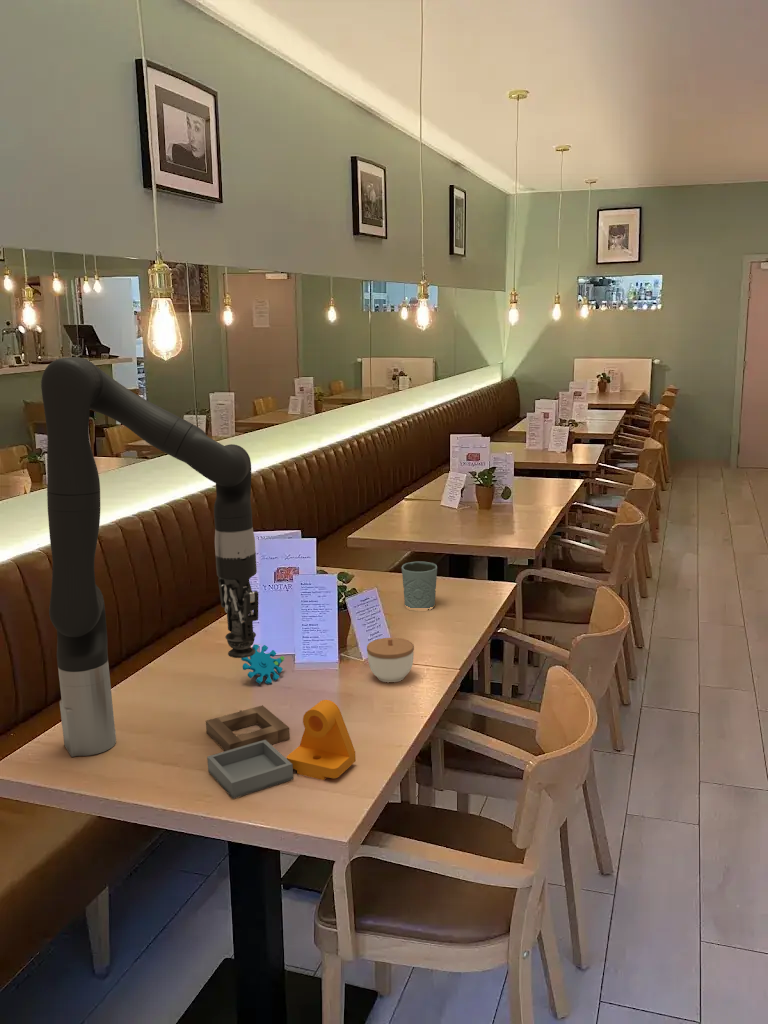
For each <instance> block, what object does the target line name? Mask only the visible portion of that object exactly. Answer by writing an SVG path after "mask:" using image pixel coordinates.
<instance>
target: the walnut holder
mask: <svg viewBox="0 0 768 1024" xmlns="http://www.w3.org/2000/svg"><path fill="white" fill-rule="evenodd" d="M251 725H252V726H254V725H258V726H259V727H260V728H261V729H256V730H254V731H250V732H246V733H242V734H240V735H239V734H238V735H236V734H235V733H234V731H237V730H240V728H241V729H245V728H248V727H251ZM244 727H245V728H244ZM233 730H234V731H233ZM205 731H206V734H207V735H208V736H210V738H211V739H212V740H213V741H214V742H215V743H216V742H217V743H218V744H219V745H220V746H221V747H222V748H223V749H224V750H223V749H222V748H221V747H220V746H219V745H218V744H217V743H216V744H217V745H218V746H219V747H220V748H221V749H222V750H223V752H224V751H228V750H231V749H235V748H238V747H241V746H245V745H248V744H252V743H255V742H259V741H262V740H266V741H267V742H269V743H270V744H271V745H272V746H273V745H275V744H277V743H280V742H285V741H288V740H290V739H291V736H290V734H291V733H290V727H289V725H287V724H286V723H284V722H283V721H282V720H281V719H280V718H279V717H277V716H276V715H275V714H274V713H273V712H271V711H270V710H269V709H268V708H267V707H266V706H264V705H263V704H262V705H259V706H255V707H251V708H248V709H244V710H240V711H237V712H233V713H229V714H225V715H223V716H222V715H221V716H218V717H215V718H210V719H207V720H205Z"/></svg>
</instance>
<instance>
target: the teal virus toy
mask: <svg viewBox="0 0 768 1024" xmlns="http://www.w3.org/2000/svg"><path fill="white" fill-rule="evenodd" d="M251 648H253V649H254V650H255V654H254V655H252V656H249V657H245V658H240V660H241V661H243V662H245V663H243V664H242V666H241V667H242V670H243V671H247V670H251V671H249V672H248V673H247V676H248V678H249V679H252V678H253V677H255V676H257V675H259V676H258V677H257V678H256V679H255V682H256V683H258V684H259V685H261V683H262V682H263V681H264V677H266V680H265V681H264V682H265V684H267V685H271V684H270V683H273V681H277V680H279V678H280V674H281V673H282V671H283V667H281V664H282V663H283V662H284V661H285V656H283V655H282V656H280V657H278V658H273V657H275V656H276V654H277V652H276V651H275V650H274V649H272V650H271V651H270V652H268V653H266V651H268V649H269V647H268V646H267V645H266V644H263V645H262V646H261V651H258V649H259V648H260V645H259V644H254V643H253V645H252V646H251ZM271 674H272V677H271Z"/></svg>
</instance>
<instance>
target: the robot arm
mask: <svg viewBox="0 0 768 1024" xmlns="http://www.w3.org/2000/svg"><path fill="white" fill-rule="evenodd" d="M40 383H41V384H40V385H41V386H40V388H41V394H42V395H41V396H42V402H43V403H42V404H43V410H44V419H45V424H46V434H47V435H46V436H47V446H46V447H47V449H46V451H47V453H46V455H47V457H46V462H47V463H46V465H47V466H46V467H47V469H46V471H47V473H46V474H47V479H46V480H47V483H46V484H47V485H46V491H47V493H46V497H47V499H46V501H47V520H48V530H49V542H50V543H49V544H50V552H51V559H52V573H51V574H52V575H51V588H50V589H51V590H50V600H49V608H48V615H49V618H50V622H51V623H52V625H53V627H54V628H55V630H56V635H57V637H56V642H57V643H56V662H57V669H58V679H59V681H58V682H59V688H60V697H61V699H60V700H59V709H60V711H59V712H60V718H61V728H62V735H63V737H62V738H63V744H64V745H63V746H64V747H65V749H66V750H67V752H68V754H69V755H70V757H71V758H73V757H79V756H81V757H85V756H93V755H98V754H102V753H104V752H107V751H108V750H110V749H112V748H113V747H114V746H115V745H116V743H117V733H116V732H117V731H116V727H115V726H116V724H115V716H114V706H113V705H114V704H113V696H112V687H111V677H110V676H111V675H110V666H109V665H110V664H109V656H108V655H109V654H108V630H107V629H108V628H107V619H106V607H105V606H106V605H105V599H104V595H103V593H102V590H101V589H100V587H98V585H97V584H96V578H95V577H96V576H95V575H96V574H95V558H96V551H97V547H98V546H97V544H98V539H99V538H98V537H99V531H100V523H101V483H100V475H99V471H98V467H97V464H96V460H95V457H94V453H93V451H92V447H91V441H90V411H93V412H97V413H99V414H102V415H104V416H106V417H108V418H110V419H112V420H115V421H116V422H118V423H119V424H121V425H123V426H124V427H126V428H127V429H129V430H130V431H131V432H133V433H134V434H135V435H136V436H137V437H139V438H140V439H142V440H143V441H145V442H146V443H148V444H149V445H151V446H152V447H154V448H155V449H157V450H159V451H161V452H163V453H165V454H167V455H169V456H171V457H172V458H174V459H176V460H179V461H180V462H183V463H185V464H187V465H188V466H189V467H190V468H191V469H193V470H194V471H196V472H197V473H198V474H200V475H201V476H203V477H204V478H205V479H207V480H209V481H210V482H212V483H214V484H215V490H216V491H215V493H216V494H215V495H216V496H215V500H214V505H213V516H214V517H213V519H214V550H215V552H214V554H215V555H214V556H215V569H216V570H215V571H216V576H217V578H218V579H217V581H218V588H219V598H220V605H221V608H224V612H225V613H226V619H227V620H226V621H227V622H226V623H227V630H228V632H229V633H230V632H231V631H232V619H230V617H231V616H232V607H231V603H232V601H233V602H234V607H235V611H237V612H238V613H239V617H240V621H241V623H240V626H241V639H242V640H243V641H244V642H246V641H250V640H253V632H254V626H253V624H254V622H255V621H258V620H259V591H258V590H254V591H253V590H252V586H251V583H250V579H251V578H252V577H254V576H255V575H256V574H257V573H258V572H257V554H256V552H257V551H256V539H255V532H254V527H253V526H254V525H253V510H252V503H251V495H252V493H251V492H252V462H251V457H250V455H249V453H248V452H247V450H246V449H245V448H243V447H242V446H240V445H237V444H226V445H223V444H221V443H220V442H218V441H216V440H215V439H213V438H211V437H209V436H208V435H207V433H206V432H205V431H204V430H203V429H202V428H200V427H198V426H197V425H195V424H193V423H192V422H190V421H188V420H185V419H184V418H182V417H180V416H178V415H176V414H175V413H173V412H170V411H168V410H166V409H164V408H162V407H160V406H159V405H156V404H155V403H153V402H151V401H149V400H147V399H145V398H143V397H141V396H140V395H139V394H137V393H134V392H133V391H131V390H130V389H128V387H126V386H124V385H123V384H121V383H119V381H117V380H115V379H114V378H113V377H111V376H110V375H109V374H108V373H106V372H105V371H103V370H102V369H101V368H99V367H98V366H97V365H95V364H94V363H93V362H91V361H90V360H88V359H87V358H84V357H79V356H71V357H62V358H58V359H55V360H52V361H51V362H50V363H49V364H48V365H47V366H46V368H45V369H44V371H43V372H42V375H41V381H40ZM241 604H244V606H240V605H241ZM243 610H244V614H243Z"/></svg>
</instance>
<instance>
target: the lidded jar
mask: <svg viewBox="0 0 768 1024" xmlns="http://www.w3.org/2000/svg"><path fill="white" fill-rule="evenodd" d="M414 650H415V645H414V643H413V642H412V641H410V640H409V639H405V638H400V637H383V638H377V639H375V640H372V641H370V642H368V644H367V645H366V652H367V661H368V666H369V668H370V671H371V672H372V674H373V675H374V676H375V677H377V679H378V681H380V682H382V683H386V682H387V683H389V682H394V683H398V682H401V680H402V681H403V680H404V679H405V677H406V676H408V674H409V673H410V671H411V670H412V667H413V663H414V655H415V654H414V653H415V651H414ZM389 684H390V683H389Z"/></svg>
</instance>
